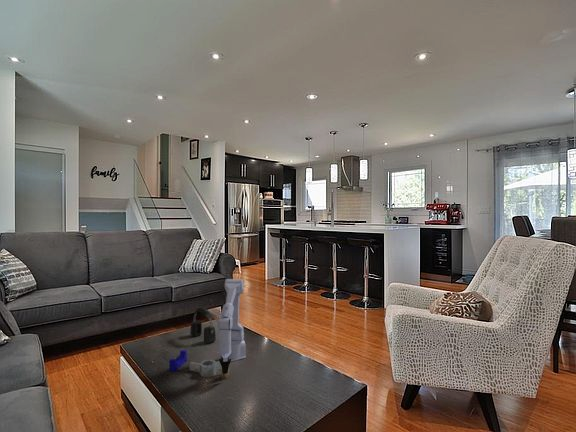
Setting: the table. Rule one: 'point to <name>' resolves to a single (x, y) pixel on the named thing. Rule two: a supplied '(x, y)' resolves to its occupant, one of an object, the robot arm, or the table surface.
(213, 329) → the headphones
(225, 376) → the brass pin
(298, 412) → the table surface
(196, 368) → the steel hinge
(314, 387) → the table surface
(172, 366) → the cable clip
